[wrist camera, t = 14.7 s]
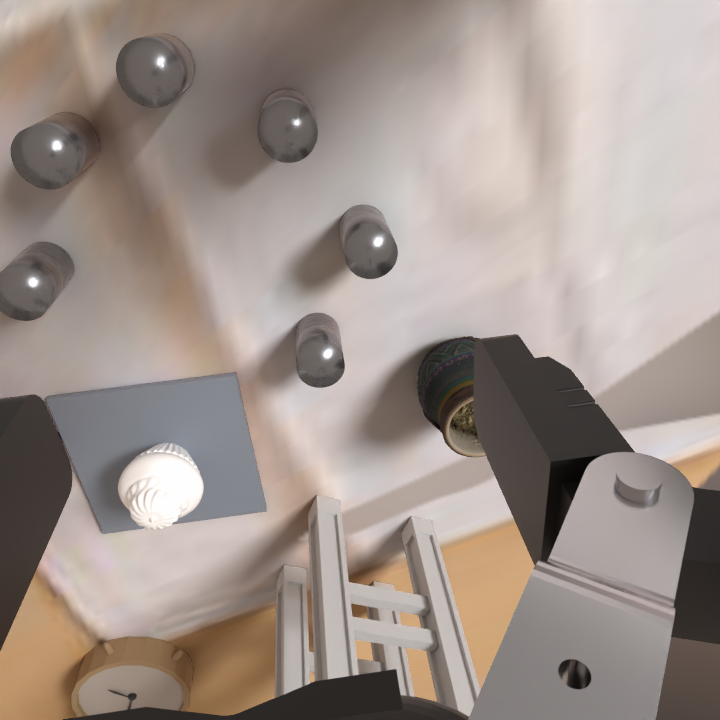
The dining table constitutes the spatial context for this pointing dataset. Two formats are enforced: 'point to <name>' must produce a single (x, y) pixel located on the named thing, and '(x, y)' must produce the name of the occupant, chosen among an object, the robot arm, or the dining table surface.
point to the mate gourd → (451, 394)
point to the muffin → (160, 486)
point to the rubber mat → (162, 425)
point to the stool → (370, 616)
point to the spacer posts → (156, 89)
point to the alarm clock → (132, 677)
